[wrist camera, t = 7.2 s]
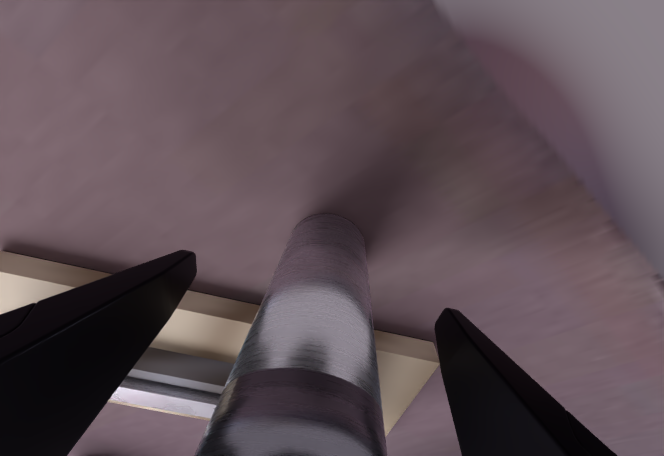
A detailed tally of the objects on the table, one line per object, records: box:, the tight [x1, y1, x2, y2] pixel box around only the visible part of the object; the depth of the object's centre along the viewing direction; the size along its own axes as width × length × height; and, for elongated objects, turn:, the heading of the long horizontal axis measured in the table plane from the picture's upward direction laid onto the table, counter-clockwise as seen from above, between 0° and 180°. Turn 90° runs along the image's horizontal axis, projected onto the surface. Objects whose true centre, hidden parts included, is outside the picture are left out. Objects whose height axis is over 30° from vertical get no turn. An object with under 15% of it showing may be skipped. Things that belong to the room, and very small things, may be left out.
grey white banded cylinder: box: [194, 214, 387, 456], centre depth 7 cm, size 3×3×8 cm
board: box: [0, 251, 440, 437], centre depth 14 cm, size 23×11×2 cm, turn 77°
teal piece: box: [109, 376, 221, 418], centre depth 11 cm, size 13×3×6 cm, turn 77°
